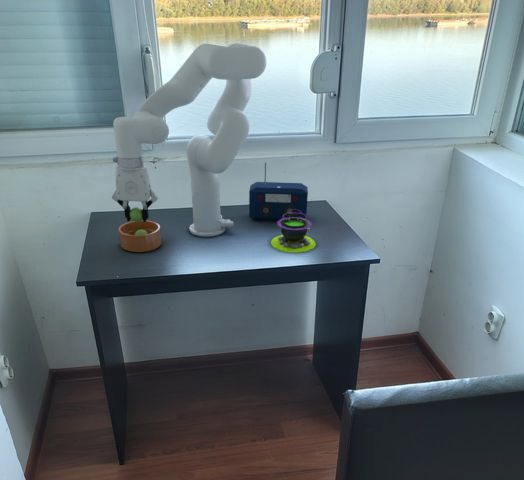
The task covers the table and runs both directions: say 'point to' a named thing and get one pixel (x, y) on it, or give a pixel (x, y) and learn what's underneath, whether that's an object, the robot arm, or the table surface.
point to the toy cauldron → (293, 236)
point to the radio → (277, 200)
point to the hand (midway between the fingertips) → (137, 219)
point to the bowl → (140, 236)
